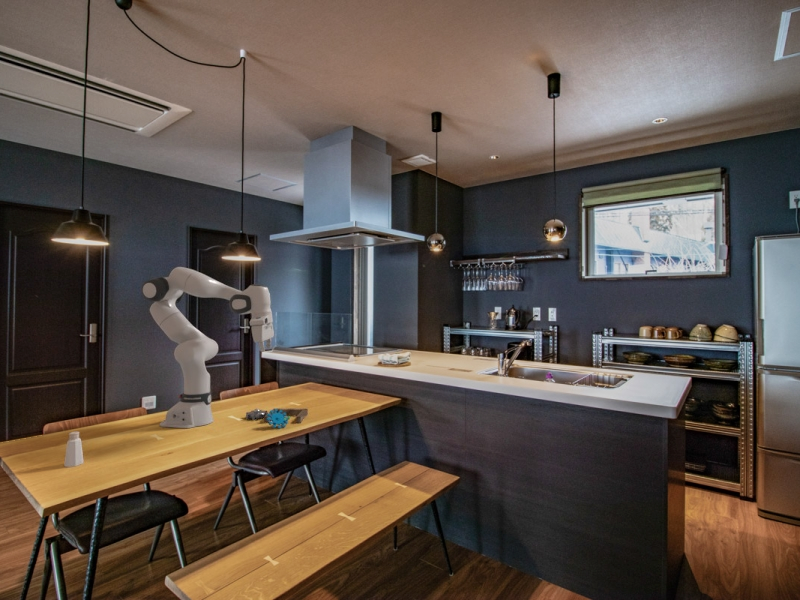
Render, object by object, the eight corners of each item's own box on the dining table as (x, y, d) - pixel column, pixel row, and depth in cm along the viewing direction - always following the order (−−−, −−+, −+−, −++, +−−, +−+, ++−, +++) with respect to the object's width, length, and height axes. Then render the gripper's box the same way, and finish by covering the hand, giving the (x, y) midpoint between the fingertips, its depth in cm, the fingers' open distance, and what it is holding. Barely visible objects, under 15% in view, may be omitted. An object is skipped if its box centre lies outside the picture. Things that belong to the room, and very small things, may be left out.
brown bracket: (264, 422, 197) (264, 416, 197) (273, 414, 212) (273, 408, 212) (300, 423, 197) (300, 416, 197) (307, 414, 212) (307, 408, 212)
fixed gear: (242, 420, 201) (242, 412, 201) (250, 414, 211) (250, 406, 211) (264, 420, 201) (264, 412, 201) (270, 414, 211) (270, 406, 211)
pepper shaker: (87, 461, 149) (87, 430, 149) (76, 467, 143) (76, 434, 144) (71, 461, 149) (72, 430, 149) (59, 467, 143) (60, 434, 143)
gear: (269, 427, 184) (266, 408, 190) (264, 435, 187) (261, 415, 193) (293, 426, 191) (289, 407, 197) (288, 433, 194) (284, 415, 200)
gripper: (262, 318, 201) (265, 347, 201) (248, 322, 181) (251, 354, 181) (275, 317, 201) (278, 346, 202) (262, 320, 181) (266, 352, 181)
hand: (265, 349), depth 191 cm, fingers open, 8 cm apart
